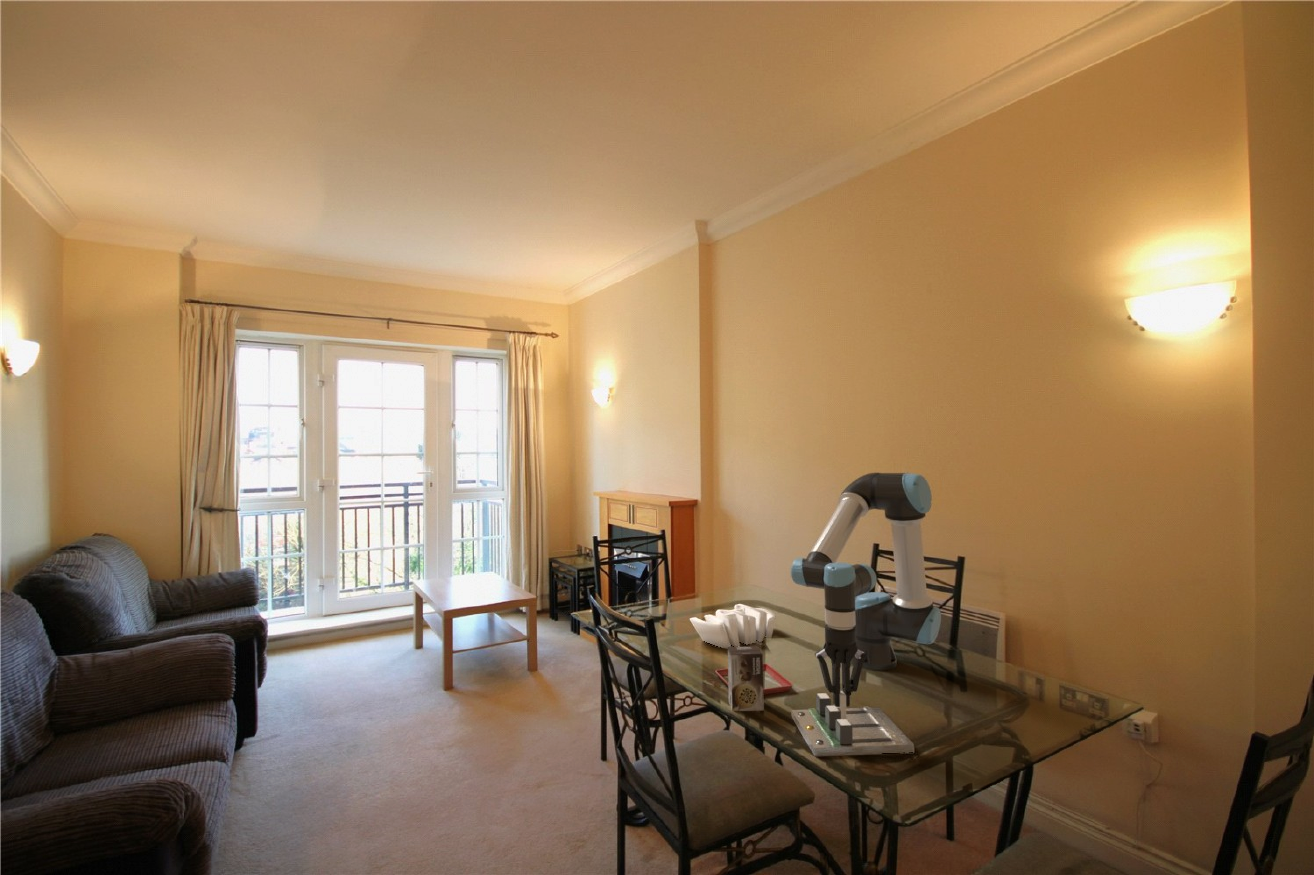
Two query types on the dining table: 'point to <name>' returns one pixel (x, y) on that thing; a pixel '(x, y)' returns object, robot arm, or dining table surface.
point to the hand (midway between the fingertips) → (841, 718)
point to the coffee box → (745, 678)
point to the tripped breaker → (832, 716)
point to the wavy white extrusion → (736, 626)
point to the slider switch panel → (868, 733)
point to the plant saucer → (778, 677)
